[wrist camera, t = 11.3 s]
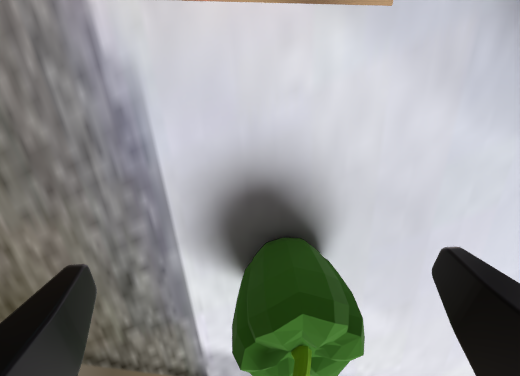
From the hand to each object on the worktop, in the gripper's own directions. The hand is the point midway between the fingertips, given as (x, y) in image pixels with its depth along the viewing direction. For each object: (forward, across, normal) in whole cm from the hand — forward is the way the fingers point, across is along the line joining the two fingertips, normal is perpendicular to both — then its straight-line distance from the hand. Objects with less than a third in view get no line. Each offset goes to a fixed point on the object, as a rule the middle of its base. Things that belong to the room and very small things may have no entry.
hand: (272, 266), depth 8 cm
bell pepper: (+12, -3, +13) cm, 18 cm away
